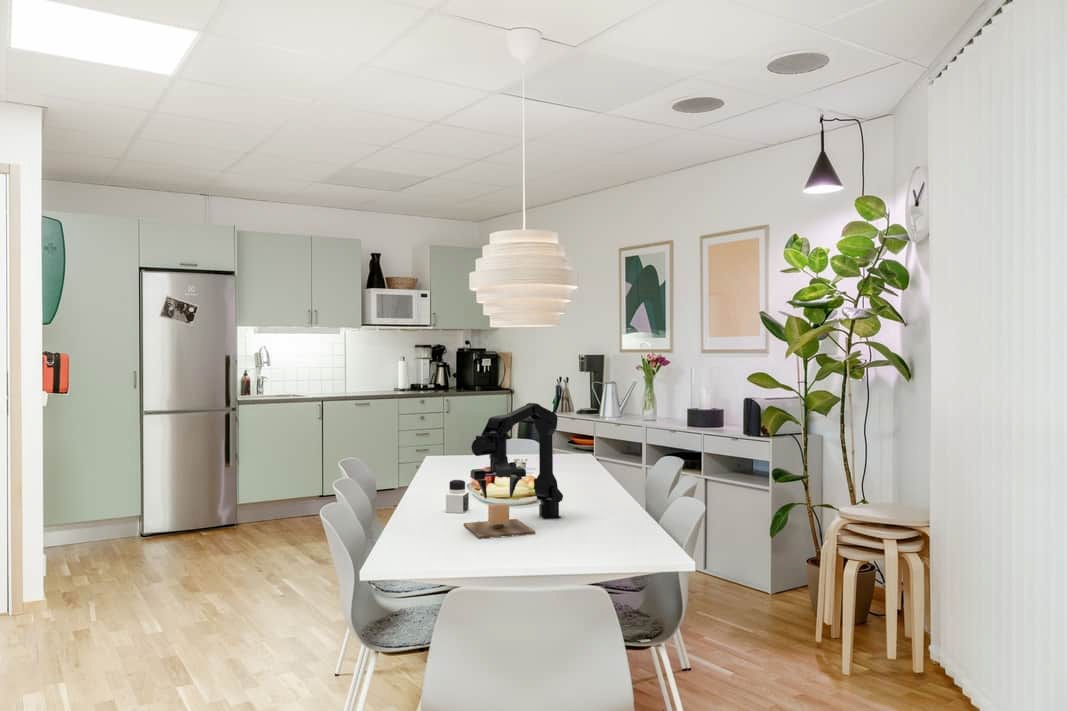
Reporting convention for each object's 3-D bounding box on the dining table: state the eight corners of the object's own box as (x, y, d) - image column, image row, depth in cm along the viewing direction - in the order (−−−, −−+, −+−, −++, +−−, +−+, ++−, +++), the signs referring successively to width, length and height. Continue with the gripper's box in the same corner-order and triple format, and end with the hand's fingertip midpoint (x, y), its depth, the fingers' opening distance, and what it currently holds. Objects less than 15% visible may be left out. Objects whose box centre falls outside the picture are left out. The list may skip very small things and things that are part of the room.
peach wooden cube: (504, 520, 274) (504, 503, 274) (509, 523, 268) (509, 506, 268) (488, 521, 272) (488, 504, 272) (493, 524, 266) (493, 507, 266)
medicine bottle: (463, 513, 297) (463, 482, 297) (445, 512, 298) (445, 481, 298) (468, 509, 304) (468, 479, 304) (451, 508, 305) (451, 478, 305)
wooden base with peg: (516, 521, 283) (516, 499, 283) (535, 534, 264) (535, 510, 264) (463, 525, 276) (463, 503, 276) (478, 539, 258) (478, 515, 257)
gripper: (478, 457, 259) (478, 504, 259) (531, 454, 265) (531, 500, 266) (470, 453, 270) (470, 498, 270) (520, 450, 276) (520, 494, 276)
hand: (498, 497), depth 270 cm, fingers open, 9 cm apart
